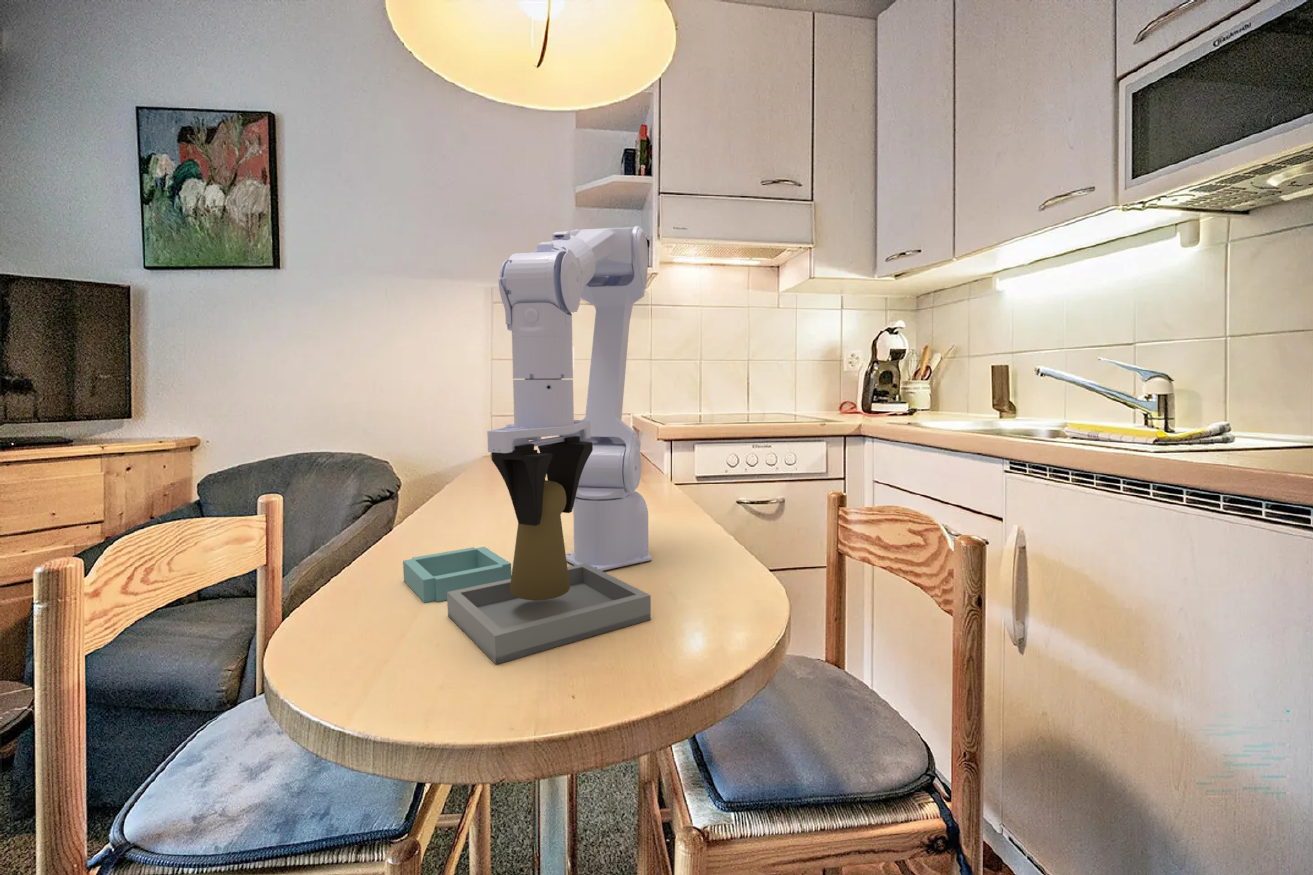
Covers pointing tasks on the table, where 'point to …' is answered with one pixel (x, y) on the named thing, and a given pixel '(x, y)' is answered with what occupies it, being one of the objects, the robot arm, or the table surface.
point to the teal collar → (453, 572)
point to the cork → (542, 551)
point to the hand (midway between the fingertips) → (546, 517)
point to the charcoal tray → (546, 613)
